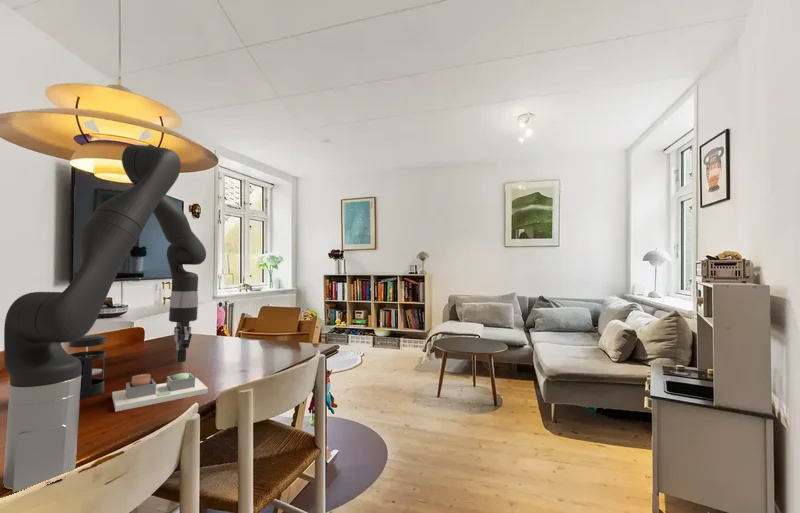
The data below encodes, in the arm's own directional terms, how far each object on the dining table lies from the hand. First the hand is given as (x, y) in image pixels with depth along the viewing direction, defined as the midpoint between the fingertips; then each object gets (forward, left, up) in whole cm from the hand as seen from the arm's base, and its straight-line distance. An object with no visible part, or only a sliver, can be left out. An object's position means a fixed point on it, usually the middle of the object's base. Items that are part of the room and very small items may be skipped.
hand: (181, 361), depth 108 cm
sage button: (0, 0, -7) cm, 7 cm away
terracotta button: (0, +10, -6) cm, 11 cm away
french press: (+15, +22, -9) cm, 28 cm away
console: (0, +5, -9) cm, 10 cm away
